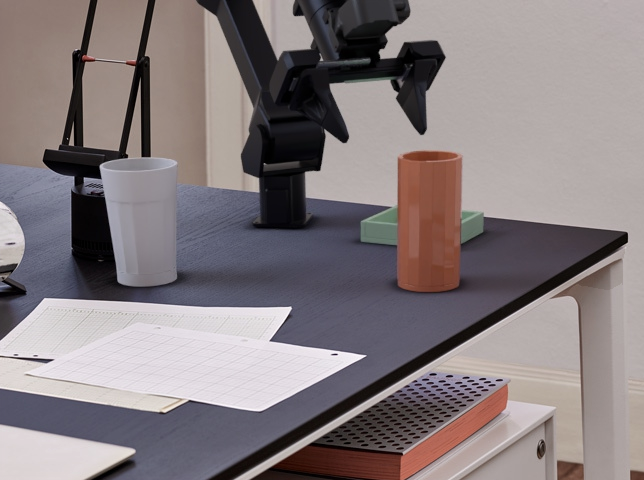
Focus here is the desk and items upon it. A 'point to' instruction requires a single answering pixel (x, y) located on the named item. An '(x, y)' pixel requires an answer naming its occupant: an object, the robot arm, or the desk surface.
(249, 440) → the desk surface
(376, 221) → the tray
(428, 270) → the tumbler
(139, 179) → the cup
